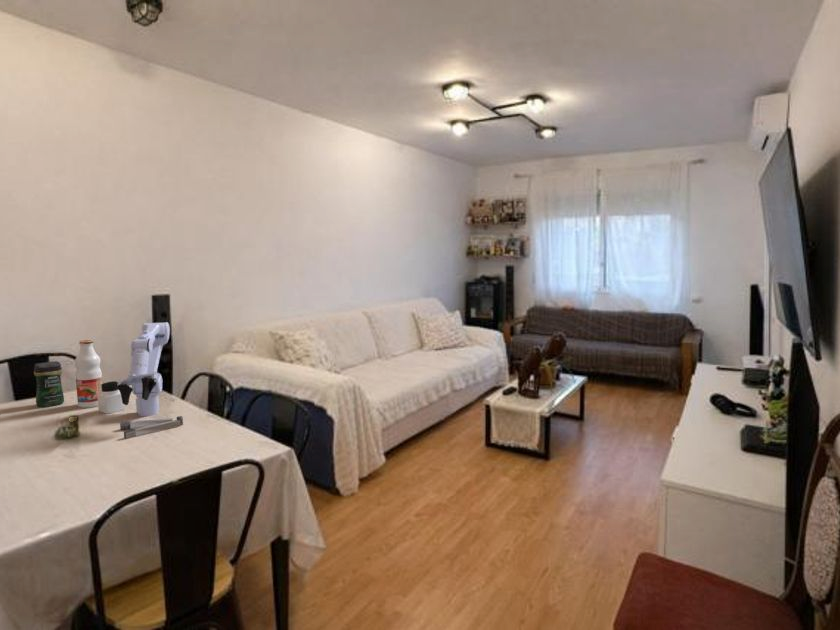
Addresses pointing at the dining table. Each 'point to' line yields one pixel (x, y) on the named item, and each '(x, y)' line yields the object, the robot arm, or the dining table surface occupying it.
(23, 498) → the dining table surface
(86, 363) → the fruit juice
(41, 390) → the coffee jar
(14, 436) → the dining table surface
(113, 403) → the medicine bottle
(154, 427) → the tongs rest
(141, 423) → the hinged tong arm
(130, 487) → the dining table surface
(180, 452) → the dining table surface
